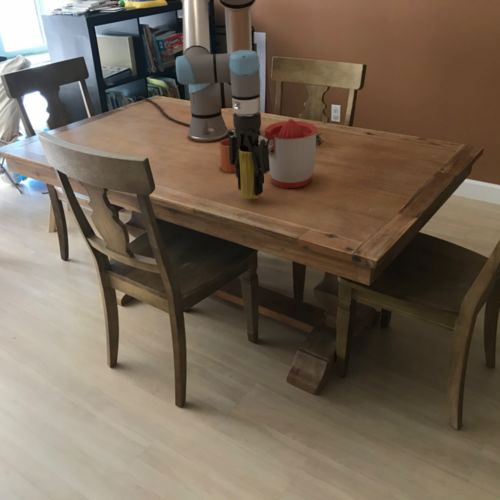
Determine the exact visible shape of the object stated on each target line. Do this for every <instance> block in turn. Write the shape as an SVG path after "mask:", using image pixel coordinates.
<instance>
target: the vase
mask: <svg viewBox="0 0 500 500" xmlns="http://www.w3.org/2000/svg"><path fill="white" fill-rule="evenodd" d="M253 147H254V146H253ZM239 161H240V180H241V190H240V192H239V196H240V197H241V198H242V199H245V200H255V199H258V198H259V197H261V195H262V193H261V194H259V195H257V196H256V195H255V186H254V174H255V173H256V170H255V166H254V163H253V159H252V152H250V151H249V149H248V147H247V146H246V149H245V151H244V152H243V151H241V150H240V149H239Z"/></svg>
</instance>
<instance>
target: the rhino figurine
mask: <svg viewBox="0 0 500 500" xmlns="http://www.w3.org/2000/svg"><path fill="white" fill-rule="evenodd" d="M322 134H323V132H319V133H318V131H317V132H316V145H318V146H321V145H322V143H324V141H325V139H324V140H322V138H321V137H320V135H322Z"/></svg>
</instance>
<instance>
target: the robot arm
mask: <svg viewBox="0 0 500 500" xmlns="http://www.w3.org/2000/svg"><path fill="white" fill-rule="evenodd" d="M210 1H211V0H180V2H181V3H182V47H183V49H182V52H183V53H182V55H180V56H179V55H178V56H176V58H175V74H176V79H177V82H178V84H180V85H188V94H189V103H190V104H189V105H190V114H191V115H190V116H191V119H190V124H189V123H186V122H183V121H179V120H178V119H174V118H172V117H171V116H169V115H168V114H167V113H166V112H164V111H163V109H162V108H161V107H160V106H159V105H158V104H157V103H156V102H155V101H153V100H151V99H149V98H147V97H144V96H141V95H139V96H138V97H136V100H140V99H143V100H144V101H147V102H149V103H151V104H153V105H154V106H155V107H156V108H157V109H158V110H159V112H160V113H161V114H162V115H163V116H164V117H165V118H167V119H169V120H171V121H172V122H174V123H177V124H180V125H183V126H187V127H189V129H188V138H189V139H190V140H191V141H194V142H197V143H213V142H217V141H218V142H219V141H222V140H224V139H226V138H227V139H229V159H230V164H231V165H232V164H233V165H234V166H235V168H236V172H235V176H236V179H237V189H238V190H239V191H241V180H240V161H239V149H240V150H241V151H243V152H244V151H245V149H246V146H247V147H248V149H249V151H250V152H252V159H253V163H254V166H255V170H256V173H255V174H254V186H255V195H256V196H257V195H259V194H261V195H262V193H264V184H265V174H266V173H269V171H270V165H269V151H268V144H269V138H268V137H267V138H265V136H262V133H261V129H260V128H261V126H262V115H261V111H262V108H261V107H262V105H261V83H262V82H261V76H260V68H261V67H260V65H261V64H260V59H259V54H258V52H256V51H255V50H253V45H252V43H253V42H252V40H253V39H252V37H253V36H252V7H253V5H255V3H256V0H219V4H220V6H222V7H223V8H224V17H225V19H224V20H225V33H226V34H225V35H226V47H227V48H226V51H227V53H211V43H210V42H211V41H210V39H211V38H210V21H209V3H210ZM223 109H224V110H225V109H232V113H233V114H232V123H233V129H231V130H229V131H228V127H227V126H226V123H225V120H224V117H223V114H222V110H223ZM253 146H254V147H253Z"/></svg>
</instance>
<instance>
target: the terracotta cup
mask: <svg viewBox="0 0 500 500" xmlns="http://www.w3.org/2000/svg"><path fill="white" fill-rule="evenodd" d="M219 154H220V167H221V170H222V172H225V173H229V174H231V173H233V174H234V173H235V174H236V168H235V166H234V165H233V164H232V165H231V164H230V159H229V138H224V139H221V140H220V142H219Z"/></svg>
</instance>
